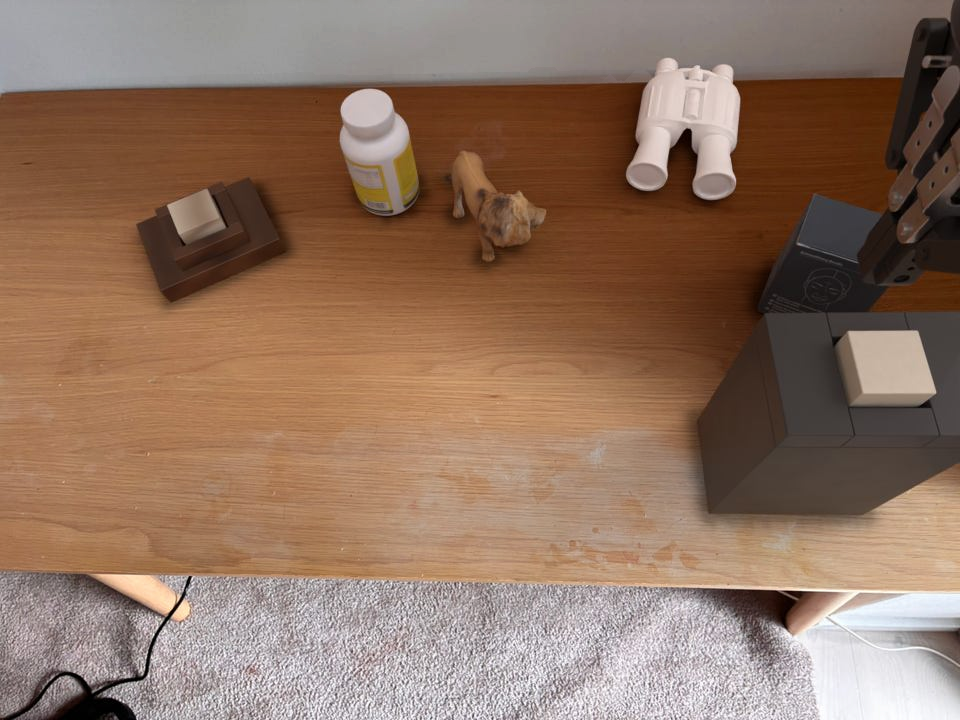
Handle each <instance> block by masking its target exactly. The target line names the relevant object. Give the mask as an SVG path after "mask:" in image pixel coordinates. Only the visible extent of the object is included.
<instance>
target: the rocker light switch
mask: <svg viewBox="0 0 960 720" xmlns="http://www.w3.org/2000/svg"><path fill="white" fill-rule="evenodd" d="M204 189H208V191H209V193H210V194H211V196H212V198H213V199H214V201H215V203H216V206H217V208H218V210H219V212H220V215H221V217H222V219H223V221H224V224H225V226H226V228H225V229H223V230H220V231H218V232H216V233H213V234H211V235H209V236H206V237H204V238H202V239H199V240H197V241H195V242H192V243H190V244H188V245H186V244H185V243H184V241H183V240H182V238H181V237H180V236H179V234H178V232H177V229H176V227H175V224H174V222H173V219H172V217H171V214H170V212H169V209H168V207H167V205H168V204H170V203H173V202H175V201H178V200H180V199H183V198H185V197H187V196H190V195H192V194H195V193H197V192H199V191H202V190H204ZM154 212H155V215H154V216H152V217H150V218H147V219H145V220H142V221H140V222H138V223H136V224H135V226H136V229H137V231H138V235H139V237H140V239H141V242H142V245H143V247H144V250H145V253H146V256H147V258H148V261H149V264H150V267H151V269H152V272H153V276H154V278H155V280H156V283H157V286H158V289H159V291H160V292H161V294H162V295H163V296H164V297H165V298H166V299H167V300H168V302H169V303H173V302H175V301H178V300H180V299H182V298H185V297H187V296H189V295H192V294H193V293H197V292H198V291H201V290H203V289H205V288H207V287H209V286H212V285H214V284H217V283H218V282H221V281H223V280H226V279H228V278H230V277H232V276H234V275H237V274H239V273H241V272H244V271H246V270H248V269H250V268H252V267H256V266H257V265H260V264H262V263H264V262H266V261H268V260H271V259H273V258H275V257H277V256H280V255H283V254H284V253H286V249H285V247H284V245H283V243H282V240H281V239H280V236H279V234H278V232H277V230H276V228H275V226H274V224H273V221H272V219H271V217H270V216H269V214H268V212H267V209H266V208H265V206H264V203H263V200H262V199H261V197H260V195H259V193H258V190H257V189H256V187H255V184H254V183H253V181H252V179H251V178H250V177H249V176H248V177H246V178H243V179H240V180H238V181H236V182H233V183H231V184H228V185H225V184H224V183H223V181H220V182H217V183H215V184H212V185H209V186H208V187H205V188H203V189H200V190H198V191H195V192H193V193H191V194H188V195H186V196H184V197H181V198H179V199H176V200H174V201H171V202H169V203H166V204H164V205H161V206H160V207H157V208H155V209H154Z"/></svg>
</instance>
